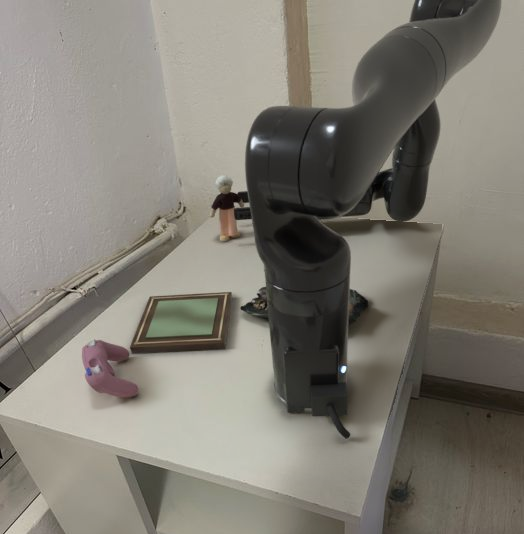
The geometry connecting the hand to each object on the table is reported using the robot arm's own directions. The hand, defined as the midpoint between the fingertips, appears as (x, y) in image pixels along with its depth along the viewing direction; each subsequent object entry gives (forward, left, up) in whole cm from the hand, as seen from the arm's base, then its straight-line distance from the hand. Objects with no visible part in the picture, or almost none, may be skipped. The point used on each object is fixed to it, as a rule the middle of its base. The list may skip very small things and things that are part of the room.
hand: (235, 205), depth 96 cm
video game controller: (-44, +15, -7) cm, 47 cm away
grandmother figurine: (0, +2, -7) cm, 7 cm away
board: (-31, +7, -7) cm, 32 cm away
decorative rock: (-29, -12, -7) cm, 32 cm away
